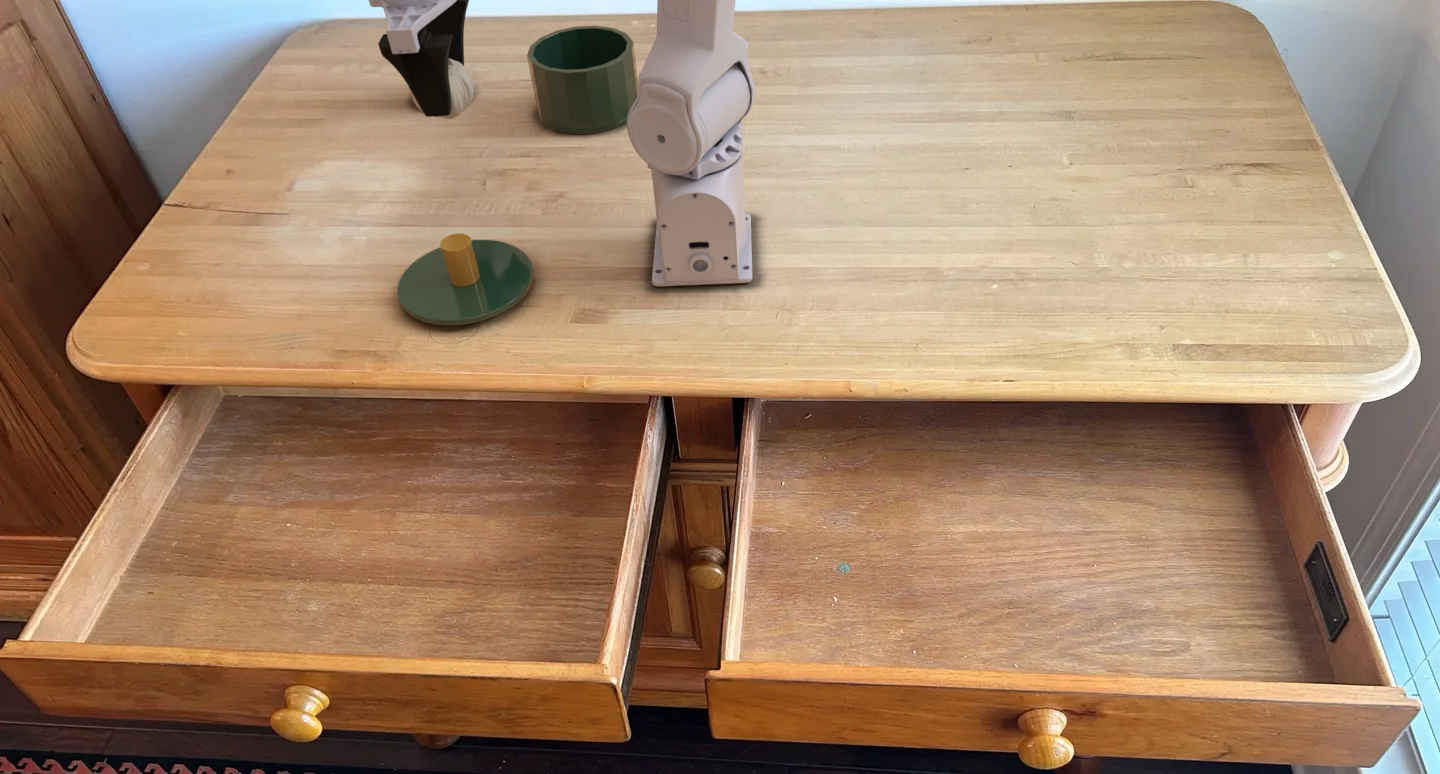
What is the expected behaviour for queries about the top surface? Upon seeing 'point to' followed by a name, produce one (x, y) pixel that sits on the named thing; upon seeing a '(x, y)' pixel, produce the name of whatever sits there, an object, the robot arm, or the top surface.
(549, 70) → the pot
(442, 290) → the lid
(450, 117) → the garlic
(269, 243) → the top surface
